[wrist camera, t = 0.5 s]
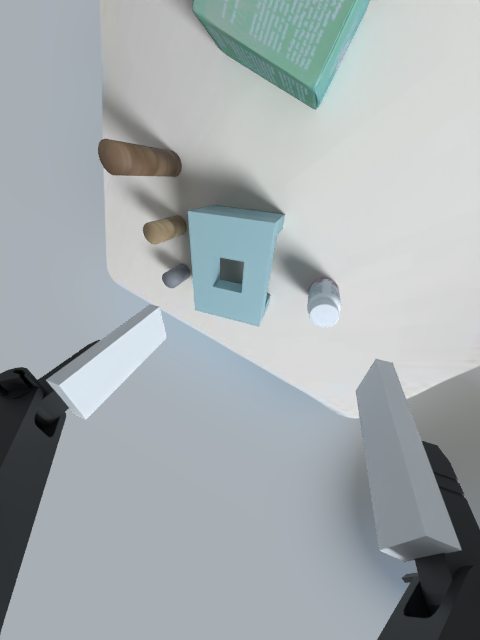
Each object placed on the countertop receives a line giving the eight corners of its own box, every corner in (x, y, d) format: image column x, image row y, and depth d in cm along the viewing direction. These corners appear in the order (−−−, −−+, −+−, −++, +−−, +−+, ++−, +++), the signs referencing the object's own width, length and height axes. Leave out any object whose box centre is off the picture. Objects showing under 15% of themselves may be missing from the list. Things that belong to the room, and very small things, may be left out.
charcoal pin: (176, 262, 42) (160, 271, 38) (189, 265, 41) (175, 274, 37) (177, 277, 44) (163, 286, 40) (190, 279, 43) (177, 289, 39)
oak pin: (170, 214, 37) (141, 221, 31) (185, 216, 36) (158, 224, 30) (172, 233, 39) (145, 242, 33) (187, 235, 38) (162, 245, 32)
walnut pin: (162, 150, 31) (94, 138, 22) (180, 151, 31) (117, 139, 21) (165, 175, 33) (103, 174, 24) (182, 177, 33) (125, 176, 23)
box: (318, 114, 24) (316, 91, 18) (221, 54, 24) (188, 12, 18) (368, 14, 19) (387, -59, 14) (248, -60, 19) (216, -165, 14)
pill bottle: (308, 302, 37) (304, 328, 31) (310, 277, 35) (307, 300, 28) (336, 303, 36) (339, 331, 29) (341, 278, 33) (345, 302, 27)
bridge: (213, 205, 33) (187, 211, 27) (285, 214, 31) (275, 223, 25) (213, 291, 43) (195, 310, 37) (268, 303, 40) (258, 326, 34)
